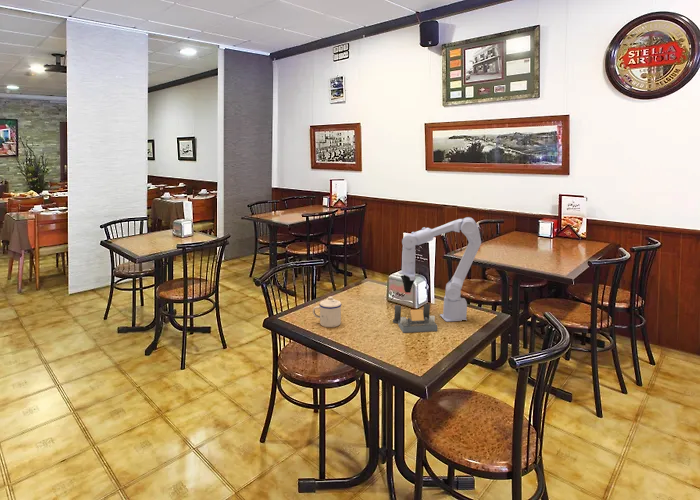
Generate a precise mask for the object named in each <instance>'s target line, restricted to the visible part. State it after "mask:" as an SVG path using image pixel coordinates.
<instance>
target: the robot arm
mask: <svg viewBox="0 0 700 500" xmlns="http://www.w3.org/2000/svg"><path fill="white" fill-rule="evenodd" d="M460 231H461V233H462V235H464V236H465V237H466V239H467V241H468V242H467V245H466V248H465V250H464V252H463V255H462V257H461V259H460V261H459V263H458V265H457V267H456V270H455V272H454V274H453V276H452V277H451V279H450V280H449V281H448V282H447V283H445V293H444V294H445V295H444V296H443V310H442V313H440V314H439V316H440V317H441V318H442V319H443V320H444V321H445V322H463V321H462V320H466V321H468V319H467V310H468V302H467V300H466V298H464V297H461V294H462V293H461V291H462V288H463V285H464V281H465V279H466V277H467V275H468V273H469V270H470V269H471V266H472V264H473V261H474V260H475V257H476V256H477V253H478V251H479V249H480V247H481V245H482V239H481V234H480V228H479V226H478V224H477V222H476V220H475V219H474V218H472V217H471V216H466V217H464V218H458V219H455V220H452V221H449V222H447V223H445V224H442V225H440V226H436V227H434V228H430V227H425V226H424V227H422V228H421V229H420V230H417V231H412V232H411V231H410V232H411V233H407V234H405V235H404V236H403V238H402V239H401V244H402V251H401V271H398V274H399V275H400V278H401V280H402V283H403V290H404V292H405V293H406V294H407V293H411V291H412V288H413V284H414V282H415V281H416V255H417V253H416V246H420V245H422V244H425V243H428V242H431V241H433V240H434V238H435V237H436V236H440V235H443V234H447V233H450V232H456V233H460Z"/></svg>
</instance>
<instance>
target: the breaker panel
mask: <svg viewBox="0 0 700 500" xmlns="http://www.w3.org/2000/svg"><path fill="white" fill-rule="evenodd" d="M435 319H436V316H435V315H429V318H427V317H425V318H424V320H425V322H411V317H406V316H401V320H398V324H397V326H398V328H399V329H400V330H401V332H402V333H403V334H407V333H408V334H409V333H422V332H423V333H425V332H427V333H428V332H438V324H437V323H436V322H435Z"/></svg>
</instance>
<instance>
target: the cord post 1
mask: <svg viewBox="0 0 700 500" xmlns="http://www.w3.org/2000/svg"><path fill="white" fill-rule="evenodd" d="M401 313H402V305H401V304H396V305H394V318H393V319H392V324H397V325H398V320H401V317H402V316H401V315H402V314H401Z"/></svg>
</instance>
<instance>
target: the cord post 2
mask: <svg viewBox="0 0 700 500" xmlns="http://www.w3.org/2000/svg"><path fill="white" fill-rule="evenodd" d="M422 310H423V316H424V318H425V317H427V318H429V316H430V311H431V305H430V304H429V303H424V304H423V309H422Z"/></svg>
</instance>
